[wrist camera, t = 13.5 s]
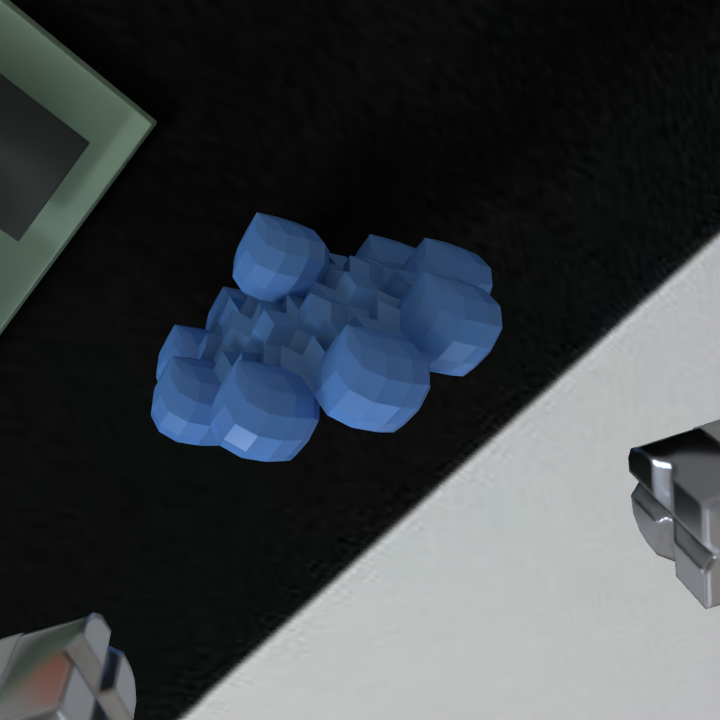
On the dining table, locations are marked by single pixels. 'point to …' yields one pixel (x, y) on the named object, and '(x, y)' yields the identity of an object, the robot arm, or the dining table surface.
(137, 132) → the scale
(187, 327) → the grapes
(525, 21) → the dining table surface
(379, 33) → the dining table surface
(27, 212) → the scale pan
